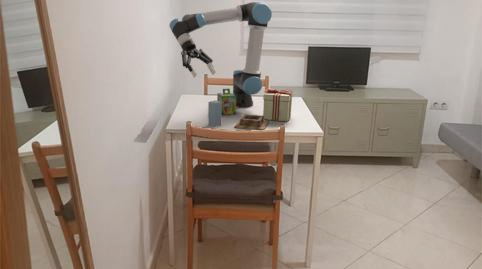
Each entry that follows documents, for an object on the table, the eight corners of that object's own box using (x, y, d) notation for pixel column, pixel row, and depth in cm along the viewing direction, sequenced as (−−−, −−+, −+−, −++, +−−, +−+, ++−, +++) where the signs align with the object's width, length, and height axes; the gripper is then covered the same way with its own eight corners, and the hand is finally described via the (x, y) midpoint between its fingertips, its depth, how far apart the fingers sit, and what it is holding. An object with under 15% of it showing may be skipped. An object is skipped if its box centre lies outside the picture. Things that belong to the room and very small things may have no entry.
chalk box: (221, 115, 261) (222, 91, 257) (216, 111, 269) (216, 87, 265) (236, 114, 265) (236, 90, 260) (230, 110, 273) (231, 87, 268)
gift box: (291, 114, 269) (293, 86, 264) (289, 122, 252) (291, 92, 246) (264, 112, 271) (265, 84, 266) (260, 120, 254) (261, 90, 249)
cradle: (234, 127, 238) (234, 119, 236) (241, 120, 252) (241, 112, 251) (263, 130, 234) (264, 122, 233) (268, 122, 249) (269, 115, 248)
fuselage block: (208, 124, 242) (208, 101, 238) (214, 123, 245) (215, 100, 241) (214, 126, 238) (214, 103, 235) (221, 125, 242) (221, 102, 238)
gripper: (200, 46, 255) (217, 76, 250) (165, 49, 238) (184, 81, 232) (206, 38, 250) (224, 68, 245) (172, 40, 233) (190, 72, 227)
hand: (205, 74), depth 239 cm, fingers open, 13 cm apart
